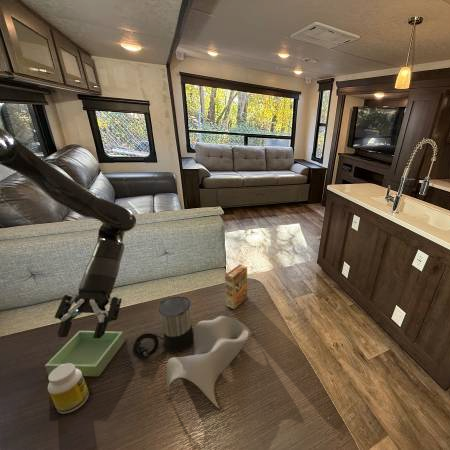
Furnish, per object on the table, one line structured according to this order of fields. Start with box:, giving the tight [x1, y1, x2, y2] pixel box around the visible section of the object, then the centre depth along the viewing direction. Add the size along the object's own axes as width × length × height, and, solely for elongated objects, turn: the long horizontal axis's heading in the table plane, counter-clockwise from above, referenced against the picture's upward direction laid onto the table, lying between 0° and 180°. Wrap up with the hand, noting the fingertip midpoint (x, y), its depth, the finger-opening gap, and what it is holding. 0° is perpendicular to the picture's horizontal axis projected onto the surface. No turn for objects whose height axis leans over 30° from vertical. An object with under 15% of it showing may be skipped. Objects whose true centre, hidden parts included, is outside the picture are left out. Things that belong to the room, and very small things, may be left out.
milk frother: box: [132, 295, 194, 359], centre depth 78 cm, size 14×16×15 cm
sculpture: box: [166, 315, 252, 409], centre depth 75 cm, size 25×19×10 cm
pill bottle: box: [47, 363, 90, 414], centre depth 61 cm, size 6×6×11 cm
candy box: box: [224, 264, 248, 310], centre depth 99 cm, size 9×4×15 cm, turn 154°
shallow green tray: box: [44, 330, 126, 377], centre depth 74 cm, size 13×12×4 cm
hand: (79, 337), depth 64 cm, fingers open, 8 cm apart
